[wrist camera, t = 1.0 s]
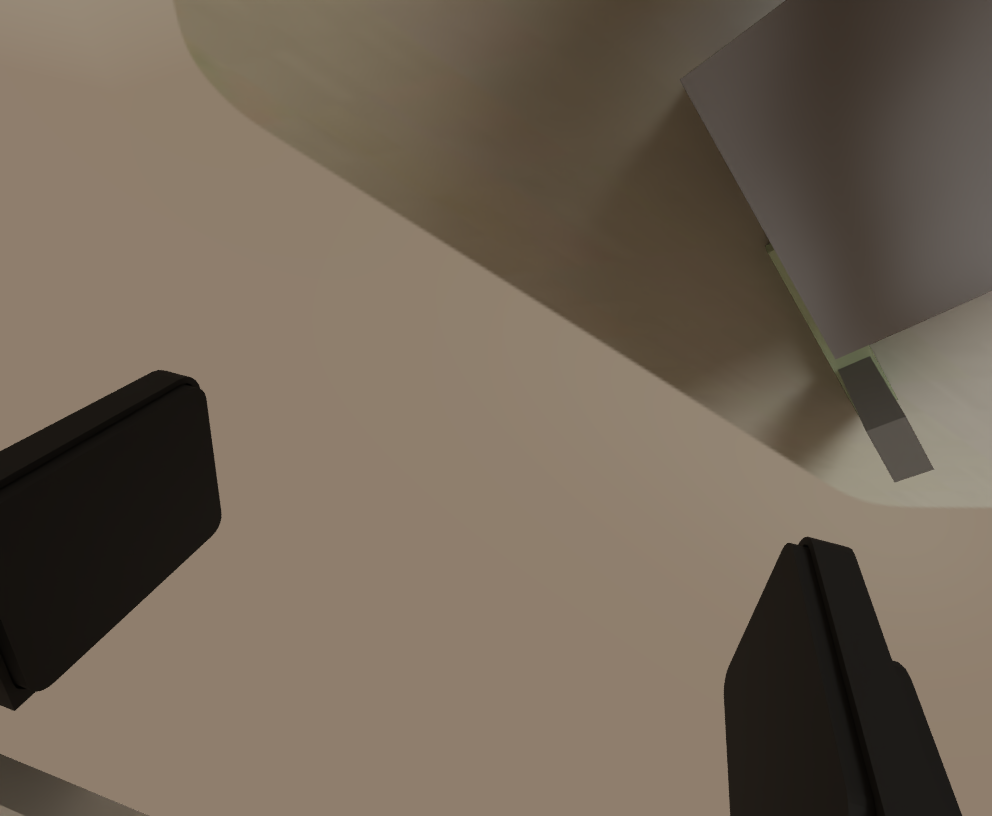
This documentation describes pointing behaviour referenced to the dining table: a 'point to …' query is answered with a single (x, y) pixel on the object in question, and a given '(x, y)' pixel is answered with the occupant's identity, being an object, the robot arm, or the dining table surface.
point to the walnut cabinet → (863, 154)
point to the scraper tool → (869, 398)
